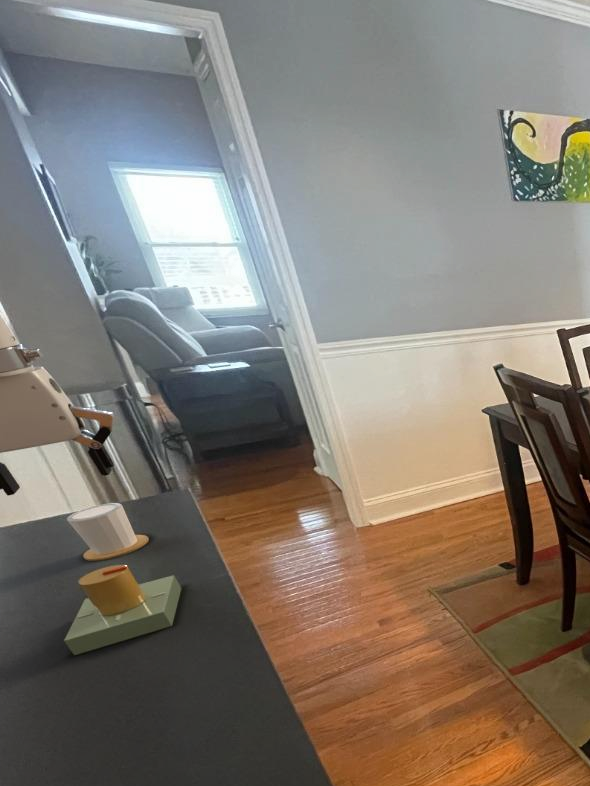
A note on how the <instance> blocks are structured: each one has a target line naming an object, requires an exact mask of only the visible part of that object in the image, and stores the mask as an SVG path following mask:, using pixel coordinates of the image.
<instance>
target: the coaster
mask: <svg viewBox="0 0 590 786" xmlns="http://www.w3.org/2000/svg"><path fill="white" fill-rule="evenodd" d="M135 536H136V538H137V542H136V543H135V544H134V545H132V546H130V547H128V548H126V549H123V550H120V551H118V552H114V553H109V554H102V555H99V554H95V553H94V552H93V551H92V550H91V548H89V549H88V550H86V551H85V552H84V553H83V555H82V556H83V559H84V560H86V561H89V562H97V561H105V560H110V559H113V558H114V559H115V558H117V557H120V556H125V555H127V554H129V553H132V552H135V551H137V550H139V549H140V548H142V547H144V546H145V545H147V544H148V542H149V537H148V536H147V535H144V534H135Z"/></svg>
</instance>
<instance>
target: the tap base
mask: <svg viewBox="0 0 590 786" xmlns="http://www.w3.org/2000/svg"><path fill="white" fill-rule="evenodd" d="M138 584H139V586H140V587H141V589H142V591H143V592H144V594H145V596H146V599H145V601H144V602H142V603H141V604H140V605H138V606H136V607H134V608H132V609H130V610H127V611H125V612H122V613H118V614H114V615H100V614H99V613H98V611H97V610H96V608H95V607H94V605H93V604H92V602H91V601H90V599H89V598H88V597H87V598H85V599H84V600H83V602H82V604H81V606H80V607H79V610H78V612H77V613H76V616H75V618H74V620H73V622H72V624H71V626H70V628H69V630H68V632H67V633H66V635H65V637H64V639H63V642H64V643H65V645H66V646H67V648H68V649H69V650H70V651H71V653H72V654H73V656H78V655H81V654H84V653H87V652H90V651H94V650H97V649H100V648H104V647H107V646H112V645H114V644H117V643H121V642H124V641H127V640H131V639H133V638H136V637H137V638H138V637H140V636H143V635H147V634H150V633H153V632H158V631H160V630H164V629H167V628H170V627H172V626H173V624H174V620H175V616H176V612H177V608H178V605H179V601H180V600H179V599H180V596H181V592H182V587H181V585H180V583H179V582H178V579H177V578H176V576H175V575H173V574H172V575H169V576H166V577H162V578H158V579H155V580H150V581H146V582H143V583H138Z"/></svg>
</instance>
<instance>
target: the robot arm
mask: <svg viewBox="0 0 590 786" xmlns="http://www.w3.org/2000/svg"><path fill="white" fill-rule="evenodd" d="M41 359H44V355H43V353H42V352H41V350H40V349H39V348H26V346H23V344H20V343H19V341H18V338H16V336H15V334H14V332H13V331H12V329H11V327H10V326H9V324H8V323H7V321H6V319H5V317H4V316H3V314H2V312H1V311H0V454H3V453H9V452H15V451H21V450H24V449H30V448H31V449H32V448H37V447H43V446H49V445H54V444H59V443H63V442H68V441H73V442H76V443H79V444H80V445H83V446H85V447H87V448H88V449H89V450H87V454H88V456H89V457H90V458H91V461H92V462H93V464H94V465H95V467H96V469H97V470H98V472H99V474H100V475H101V476H104V477H105V476H110V474H111V472H112V470H113V469H112V468H114V466H115V464H114V461H113V459H112V457H111V456H110V454H109V452H108V451H107V449H106V447H105V445H104V444H105V442H106V441H107V440H108V437H110V435H111V433H112V432H113V426H114V419H115V415H114V413H113V412H110V411H106V410H99V409H91V408H86V407H81V406H75V405H74V404H73V403H72V401H71V400H70V399H69V397H68V396H67V394H66V393H65V392H64V390H63V389H62V387H61V386H60V385H59V383H58V382H57V381H56V380H55V379H54V378H53V377H52V375H51V374H50V373H49V372H48V371H47V370H46V368H44V367H43V366H34V365H33V364H34V361H37V360H41ZM84 419H86V420H87V419H88V420H93V421H97V422H98V423H99V425H98V426H99V427H98V430H97V432H96V433H93V432H91V431H88V430H86V423H85V421H84ZM20 487H21V486H20V484H19V483H18V481H17V480H16V478H15V477H14V476H13V474H12V473H11V472H10V470H9V468H8V467H7V465H6V464H5V463H3V462H1V461H0V490H3V492H4V493H5V495H6V496H7V497H8V496H13V495H15V494H16V493H17V492H18V491H19V489H20Z"/></svg>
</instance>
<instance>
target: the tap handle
mask: <svg viewBox="0 0 590 786" xmlns="http://www.w3.org/2000/svg"><path fill="white" fill-rule="evenodd" d="M77 583H78V585H79V586H80V588H81V589H82V591H83V592H84V594H85V595H86V597H87V598H89V599H90V601H91V602H92V604H93V605H94V607H95V608H96V610H97V611H98V613H99V614H100V615H114V614H118V613H122V612H125V611H127V610H130V609H132V608H134V607H136V606H138V605H140V604H141V603H142V602H144V601H145V599H146V596H145V594H144V592H143V591H142V589H141V587H140V586H139V584H140V583H139V582H138V581H137V579H136V578H135V576H134V574H133V572H132V571H131V569H130V568H129V566H128V565H126V564H115V565H110V566H105V567H102V568H99V569H95V570H94V571H91V572H89V573H87V574H85V575H83V576H82V577H81V578H80V579H78V582H77Z"/></svg>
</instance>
